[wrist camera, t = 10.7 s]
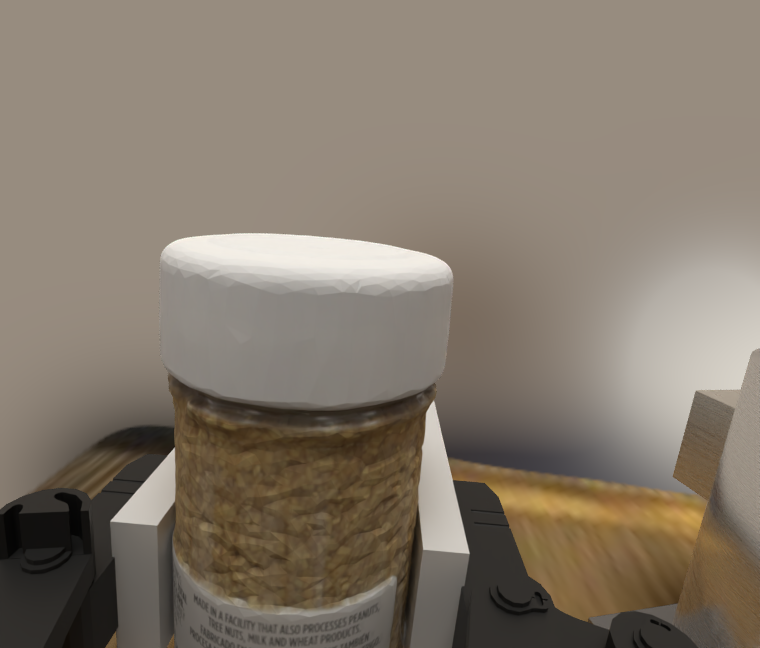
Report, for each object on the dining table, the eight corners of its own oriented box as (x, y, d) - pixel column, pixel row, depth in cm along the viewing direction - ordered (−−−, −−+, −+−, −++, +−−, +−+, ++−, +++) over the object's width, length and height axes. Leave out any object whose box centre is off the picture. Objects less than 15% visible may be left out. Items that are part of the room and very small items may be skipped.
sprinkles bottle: (399, 762, 12) (470, 249, 9) (342, 1050, 8) (436, 277, 5) (243, 705, 14) (256, 225, 10) (119, 933, 9) (75, 232, 6)
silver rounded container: (751, 590, 24) (870, 237, 20) (1205, 956, 13) (1731, 301, 8) (148, 687, 17) (126, 165, 13) (-85, 1748, 5) (-1350, -132, 1)
